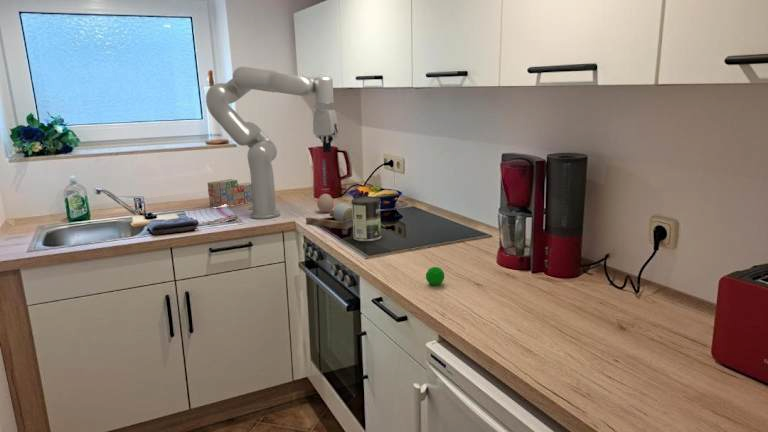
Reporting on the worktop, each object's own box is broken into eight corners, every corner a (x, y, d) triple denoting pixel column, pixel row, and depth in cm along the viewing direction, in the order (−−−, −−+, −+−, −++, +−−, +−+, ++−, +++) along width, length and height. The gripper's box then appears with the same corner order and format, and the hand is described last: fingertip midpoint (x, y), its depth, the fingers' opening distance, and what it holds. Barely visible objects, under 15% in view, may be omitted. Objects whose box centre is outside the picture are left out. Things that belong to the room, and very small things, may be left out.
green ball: (434, 289, 146) (434, 272, 145) (422, 284, 150) (422, 267, 149) (448, 284, 149) (448, 267, 148) (436, 280, 152) (435, 263, 151)
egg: (314, 212, 241) (313, 193, 239) (328, 209, 245) (327, 191, 243) (323, 215, 236) (322, 196, 234) (337, 212, 240) (336, 193, 238)
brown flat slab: (306, 223, 221) (305, 216, 220) (331, 215, 234) (331, 208, 233) (345, 229, 210) (345, 221, 209) (370, 220, 223) (369, 213, 223)
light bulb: (344, 226, 215) (343, 207, 213) (333, 223, 221) (332, 204, 219) (366, 222, 221) (365, 203, 219) (355, 219, 227) (354, 201, 226)
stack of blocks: (249, 200, 273) (247, 176, 270) (256, 202, 268) (254, 177, 266) (209, 207, 259) (207, 182, 256) (216, 209, 254) (213, 183, 251)
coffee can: (382, 233, 203) (381, 196, 199) (380, 241, 193) (379, 202, 189) (354, 234, 203) (353, 196, 200) (351, 241, 193) (349, 202, 190)
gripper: (305, 108, 226) (307, 152, 230) (333, 107, 218) (335, 153, 222) (316, 107, 232) (319, 150, 236) (344, 106, 224) (347, 151, 228)
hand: (327, 152), depth 229 cm, fingers closed
